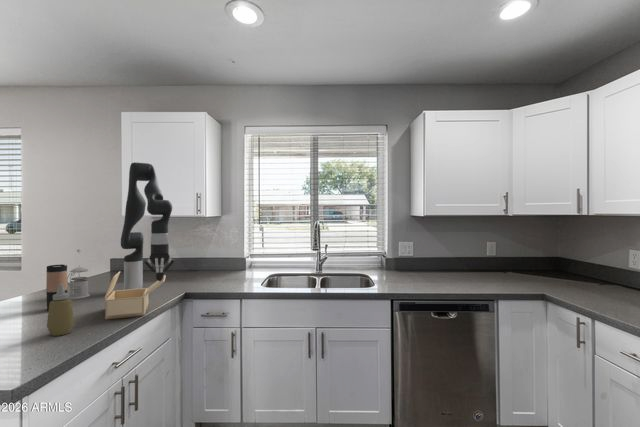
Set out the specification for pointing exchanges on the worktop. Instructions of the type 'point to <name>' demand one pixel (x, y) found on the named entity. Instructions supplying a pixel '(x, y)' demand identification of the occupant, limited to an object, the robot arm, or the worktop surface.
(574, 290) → the worktop surface
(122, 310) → the carton
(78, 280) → the french press
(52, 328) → the squeeze bottle
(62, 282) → the travel mug
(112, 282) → the flap
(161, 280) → the flap
